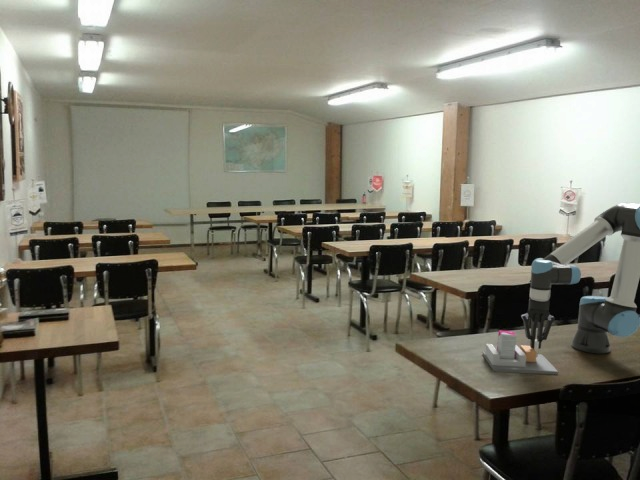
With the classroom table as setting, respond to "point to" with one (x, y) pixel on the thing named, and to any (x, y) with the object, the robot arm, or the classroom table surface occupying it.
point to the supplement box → (506, 344)
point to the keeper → (529, 353)
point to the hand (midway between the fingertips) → (534, 355)
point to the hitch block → (517, 362)
